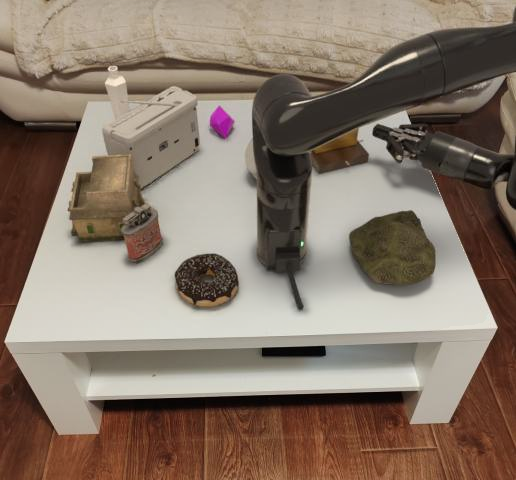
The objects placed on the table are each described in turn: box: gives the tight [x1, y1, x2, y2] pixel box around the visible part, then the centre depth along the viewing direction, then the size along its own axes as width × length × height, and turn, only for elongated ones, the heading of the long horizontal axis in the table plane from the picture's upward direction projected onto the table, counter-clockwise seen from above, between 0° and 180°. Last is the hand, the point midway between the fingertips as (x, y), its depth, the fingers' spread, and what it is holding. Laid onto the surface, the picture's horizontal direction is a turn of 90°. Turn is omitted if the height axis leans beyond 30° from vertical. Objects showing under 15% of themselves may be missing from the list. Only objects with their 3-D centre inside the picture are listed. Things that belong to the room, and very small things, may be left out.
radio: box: [101, 85, 201, 190], centre depth 118 cm, size 21×8×20 cm, turn 141°
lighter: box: [121, 202, 164, 265], centre depth 105 cm, size 8×3×10 cm, turn 141°
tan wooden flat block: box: [313, 128, 360, 154], centre depth 123 cm, size 10×2×7 cm, turn 111°
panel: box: [309, 139, 370, 174], centre depth 127 cm, size 14×14×2 cm
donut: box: [174, 252, 240, 308], centre depth 102 cm, size 11×12×4 cm
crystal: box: [209, 105, 235, 139], centre depth 132 cm, size 5×5×5 cm
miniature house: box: [67, 154, 147, 244], centre depth 110 cm, size 15×14×11 cm
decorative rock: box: [348, 209, 437, 286], centre depth 103 cm, size 15×16×10 cm
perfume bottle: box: [104, 65, 131, 119], centre depth 128 cm, size 5×4×15 cm
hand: (374, 129), depth 120 cm, fingers closed
